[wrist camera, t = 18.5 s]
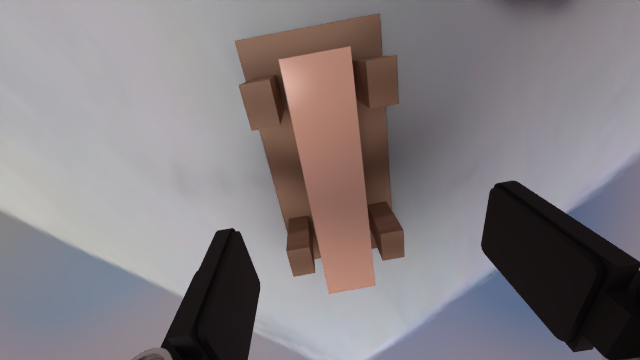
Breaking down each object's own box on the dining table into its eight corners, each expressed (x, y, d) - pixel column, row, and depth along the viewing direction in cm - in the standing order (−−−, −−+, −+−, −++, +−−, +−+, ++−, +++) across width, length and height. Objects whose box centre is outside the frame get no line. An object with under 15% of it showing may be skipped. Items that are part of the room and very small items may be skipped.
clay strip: (283, 59, 17) (278, 59, 13) (338, 49, 17) (350, 46, 12) (324, 252, 23) (328, 293, 19) (362, 245, 23) (375, 285, 19)
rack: (238, 41, 17) (215, 36, 12) (375, 15, 17) (403, 0, 12) (295, 254, 25) (294, 299, 20) (390, 238, 25) (410, 278, 20)
